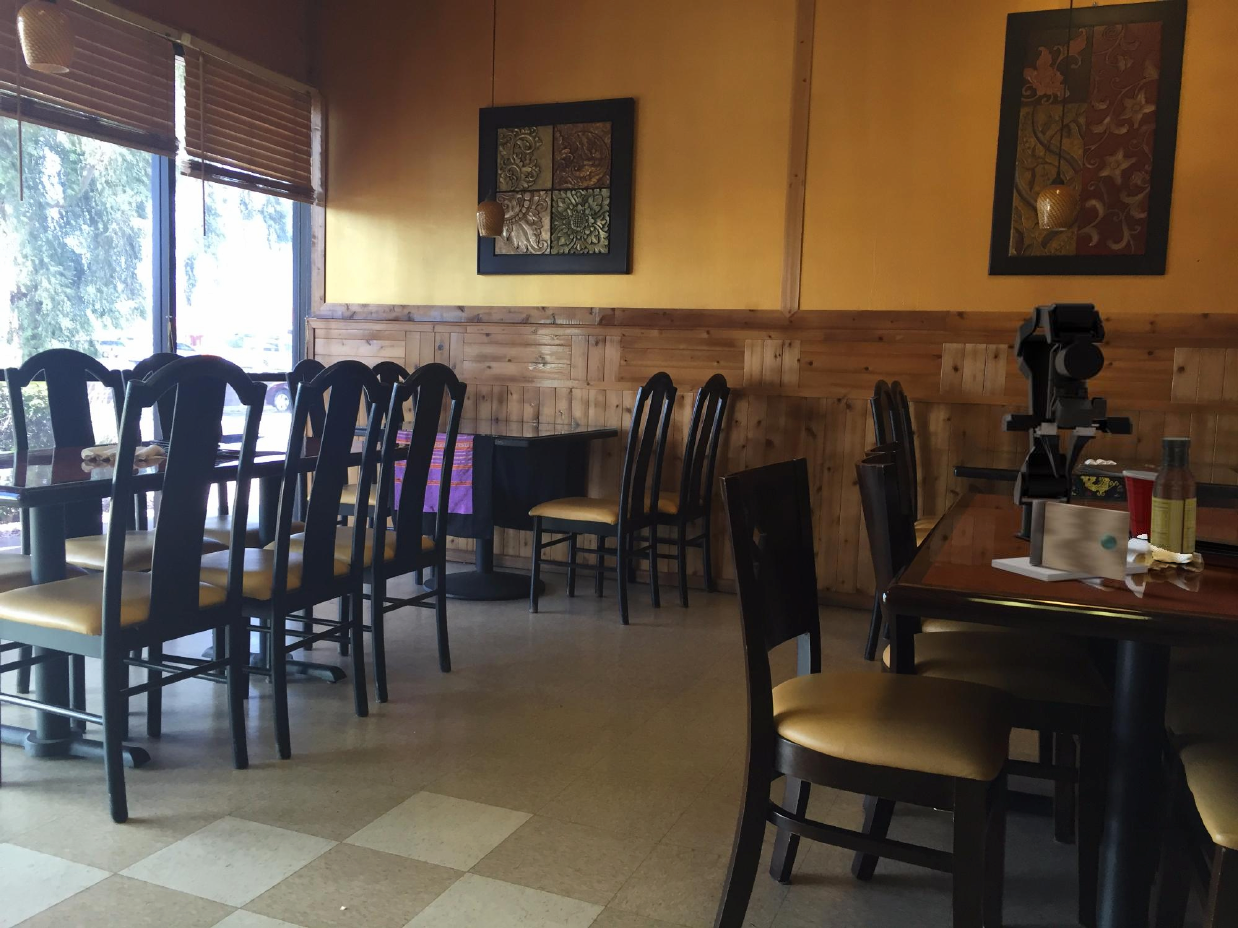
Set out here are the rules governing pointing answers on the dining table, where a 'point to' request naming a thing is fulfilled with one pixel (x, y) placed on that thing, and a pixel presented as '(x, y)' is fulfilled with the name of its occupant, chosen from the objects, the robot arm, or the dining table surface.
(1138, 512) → the plastic cup
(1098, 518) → the door
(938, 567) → the dining table surface
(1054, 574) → the board
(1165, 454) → the sauce bottle
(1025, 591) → the dining table surface
